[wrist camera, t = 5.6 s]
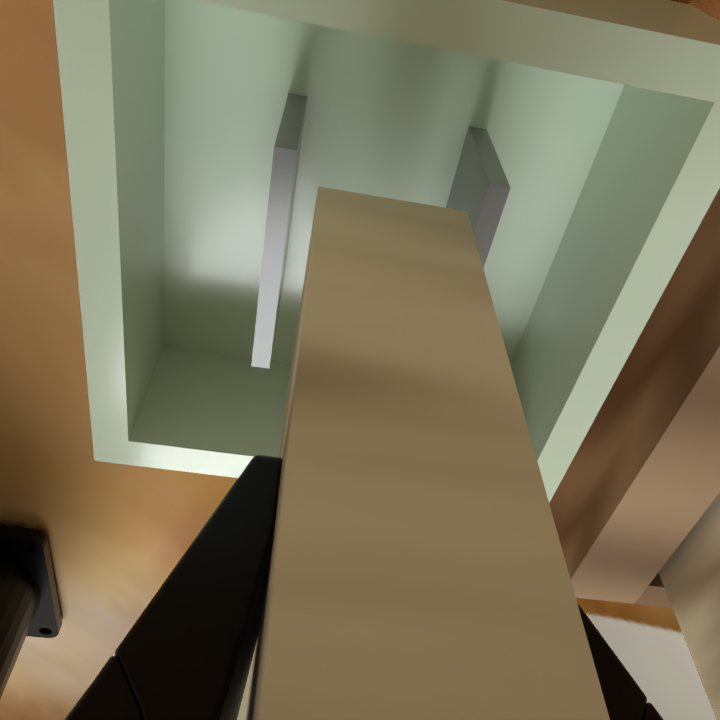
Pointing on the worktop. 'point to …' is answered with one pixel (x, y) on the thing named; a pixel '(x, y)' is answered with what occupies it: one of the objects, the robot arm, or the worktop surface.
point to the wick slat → (699, 597)
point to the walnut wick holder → (650, 442)
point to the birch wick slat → (411, 495)
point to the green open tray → (370, 190)
